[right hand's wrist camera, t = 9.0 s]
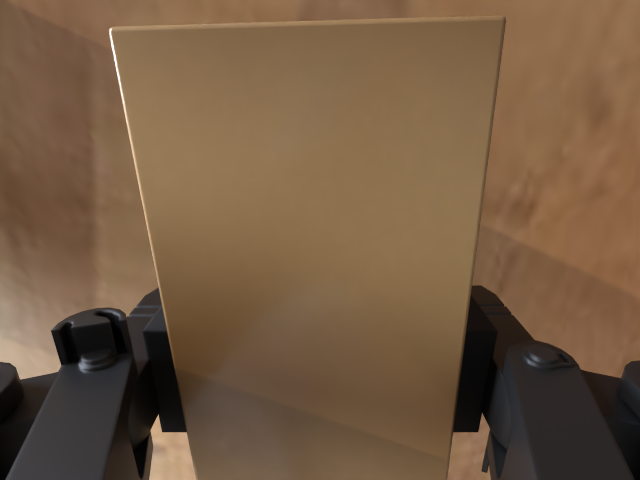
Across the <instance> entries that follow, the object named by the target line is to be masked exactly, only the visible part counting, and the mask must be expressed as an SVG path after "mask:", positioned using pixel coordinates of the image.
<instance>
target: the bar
mask: <svg viewBox="0 0 640 480" xmlns="http://www.w3.org/2000/svg"><path fill="white" fill-rule="evenodd" d="M505 24H506V19H505V17H504V16H501V15H487V16H453V17H419V18H385V19H351V20H317V21H283V22H249V23H215V24H182V25H148V26H114V27H112V28H110V29H109V36H110V41H111V46H112V51H113V56H114V61H115V66H116V72H117V77H118V82H119V87H120V92H121V97H122V102H123V107H124V112H125V118H126V123H127V128H128V133H129V138H130V143H131V148H132V153H133V159H134V164H135V169H136V174H137V179H138V184H139V189H140V194H141V199H142V205H143V210H144V215H145V220H146V225H147V230H148V235H149V240H150V245H151V251H152V256H153V261H154V266H155V271H156V276H157V281H158V286H159V292H160V297H161V302H162V307H163V312H164V317H165V322H166V327H167V332H168V338H169V343H170V348H171V353H172V358H173V363H174V368H175V373H176V379H177V384H178V389H179V394H180V399H181V404H182V409H183V414H184V419H185V425H186V430H187V435H188V440H189V445H190V450H191V455H192V460H193V466H194V471H195V476H196V480H447V475H448V467H449V459H450V452H451V444H452V436H453V428H454V421H455V413H456V405H457V397H458V389H459V382H460V374H461V366H462V358H463V350H464V343H465V335H466V327H467V319H468V312H469V304H470V296H471V288H472V280H473V273H474V265H475V257H476V249H477V242H478V234H479V226H480V218H481V210H482V203H483V195H484V187H485V179H486V171H487V164H488V156H489V148H490V140H491V133H492V125H493V117H494V109H495V101H496V94H497V86H498V78H499V70H500V63H501V55H502V47H503V39H504V31H505Z"/></svg>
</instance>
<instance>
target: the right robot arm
mask: <svg viewBox="0 0 640 480" xmlns="http://www.w3.org/2000/svg"><path fill="white" fill-rule="evenodd" d="M51 332H52V335H53V339H54V342H55V345H56V349H57V352H58V355H59V359H60V362H61V365H62V366H61V368H60V370H59V372H56V373H52V374H47V375H42V376H37V377H32V378H27V379H22V380H20V378H19V375H18V373H17V370H16V367H14V366H13V365H11V364H10V363H3V362H0V480H149V476H150V468H151V459H152V451H153V443H152V437H151V432H150V430H151V428H152V426H153V424H154V422H155V420H156V418H157V416H158V414H159V418H160V423H161V428H162V432H187V430H186V425H185V419H184V414H183V409H182V404H181V399H180V394H179V389H178V384H177V379H176V373H175V368H174V363H173V358H172V353H171V348H170V343H169V338H168V332H167V327H166V322H165V317H164V312H163V307H162V302H161V297H160V292H159V288H157V289H155V290H154V291H152V292H151V293H149V294H147V295H146V296H145V297H144V298H143V299H142V300H141V301H140V303H139V304H138V305H137V308H134V310H133V311H132V312H131V313H130V314H129V317H127V318H126V314H125V313H124V312H122V311H121V310H120V309H114V308H96V309H91V310H87V311H83V312H80V313H77V314H75V315H72V316H70V317H68V318H66V319H65V320H63V321H61V322H60V323H58V324H57V325H56V326H55V327H54V328H53V329H52V330H51ZM482 413H483V415H484V417H485V419H486V421H487V423H488V425H489V427H490V432H489V437H488V441H487V446H486V451H485V455H484V460H483V466H482V472H486V473H487V470H488V466H489V467H490V475H491V480H640V361H631V362H630V363H629V364H627V365H626V366H625V368H624V371H623V374H622V377H621V378H617V377H612V376H607V375H602V374H597V373H592V372H587V371H584V370H581V369H580V367H579V365H578V364H577V363H576V361H575V360H574V359H573V358H572V357H571V356H570V355H569V354H567V353H566V352H564V351H563V350H561V349H559V348H557V347H555V346H553V345H550V344H548V343H544V342H540V341H536V340H534V339H533V338H532V337H531V336H530V334H529V333H528V332H527V331H526V330H525V329H524V327H523V326H522V325H521V324H520V323H519V321H518V320H517V319H516V318H515V317H514V316H513V315H511V312H510V311H509V310H508V309H507V307H504V304H503V303H502V302H501V300H500V299H499V298H498V297H497V296H496V295H495V294H494V293H492V292H491V291H489V290H487V289H486V288H484V287H482V286H472V288H471V296H470V304H469V312H468V319H467V327H466V335H465V343H464V350H463V358H462V366H461V374H460V382H459V389H458V397H457V405H456V413H455V421H454V428H453V432H478V430H479V425H480V420H481V415H482Z"/></svg>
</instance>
